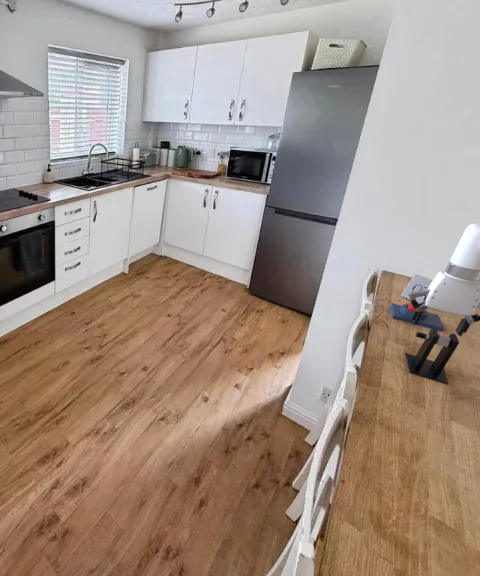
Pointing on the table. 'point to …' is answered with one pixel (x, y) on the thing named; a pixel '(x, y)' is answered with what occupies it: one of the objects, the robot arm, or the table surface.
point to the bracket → (427, 367)
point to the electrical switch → (416, 286)
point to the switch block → (425, 320)
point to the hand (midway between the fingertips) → (435, 327)
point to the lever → (441, 340)
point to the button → (411, 307)
